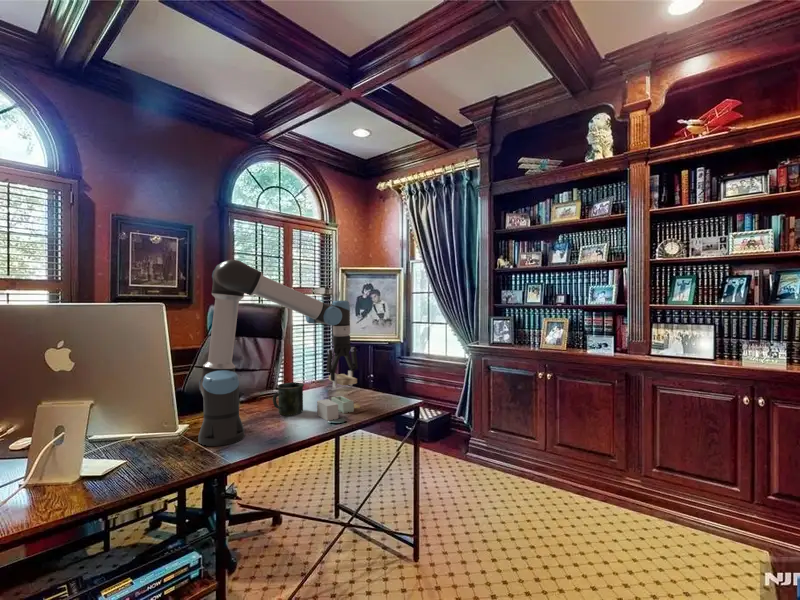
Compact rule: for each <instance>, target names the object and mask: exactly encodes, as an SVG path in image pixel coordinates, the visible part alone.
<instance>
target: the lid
mask: <svg viewBox="0 0 800 600" xmlns="http://www.w3.org/2000/svg"><path fill="white" fill-rule="evenodd" d="M328 381H330V382H332V383H333V381H332V380H331V374H330V375H328ZM350 384H353V385H355V384H358V378H356V377H354V378H353V377H350V376H348V374H345V373H340V374H339V373H338V374H337V385H341V386H350Z"/></svg>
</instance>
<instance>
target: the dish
mask: <svg viewBox="0 0 800 600" xmlns="http://www.w3.org/2000/svg"><path fill="white" fill-rule="evenodd" d="M331 401H333V402H335V403H337V404H338V412H339V413H341V412H342V414H347V413H348V412H349V413H354V410H355V407H354V403H355V402H354V400H352V399H349V398H347V397H345V396H342V395H337V396H332V397H331Z"/></svg>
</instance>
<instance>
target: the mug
mask: <svg viewBox="0 0 800 600" xmlns="http://www.w3.org/2000/svg"><path fill="white" fill-rule="evenodd" d="M277 388H278V389H277V390H278V391H277V392H276V393H274V394H273V396H272V404H273V406H274V407H275V408H276V409H278V414H279V415H281V416H296V415H300V414H302V413H303V410H304V383H302V382H285V383H281V384H278V385H277ZM277 397H278V402H277Z"/></svg>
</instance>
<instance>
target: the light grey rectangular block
mask: <svg viewBox="0 0 800 600" xmlns="http://www.w3.org/2000/svg"><path fill="white" fill-rule="evenodd" d="M316 402H317V404H316V409H317V410H316V411H317V412H316V413H317V414H316V415H317V416H318V417H320V418H322V419H323V420H325V421H327V422H329V421H333V419H334V420H337V419H339V411H338V404H337V403H335V402H333V401H331V400H330V399H329V398H327V399H326V398H325V399H321V400H317V401H316ZM328 420H329V421H328Z"/></svg>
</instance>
